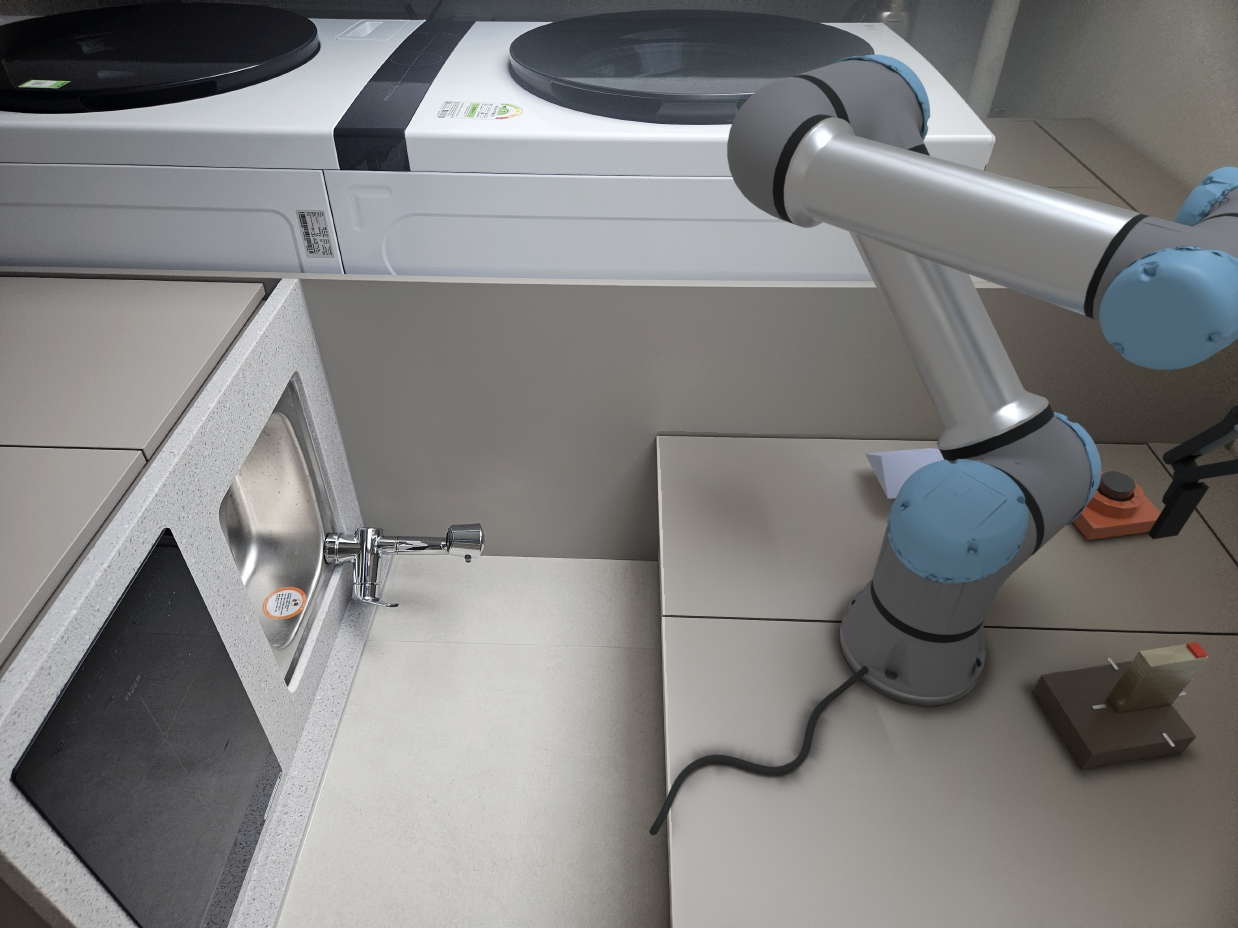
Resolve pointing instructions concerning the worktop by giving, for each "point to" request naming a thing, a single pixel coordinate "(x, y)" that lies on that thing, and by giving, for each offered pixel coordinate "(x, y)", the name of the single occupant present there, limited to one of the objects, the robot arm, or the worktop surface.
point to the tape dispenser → (900, 466)
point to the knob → (1157, 676)
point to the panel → (1107, 718)
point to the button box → (1117, 516)
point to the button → (1116, 486)
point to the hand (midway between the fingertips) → (1212, 587)
